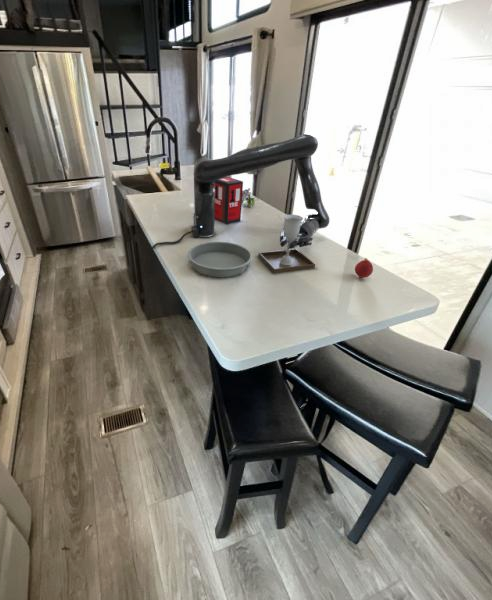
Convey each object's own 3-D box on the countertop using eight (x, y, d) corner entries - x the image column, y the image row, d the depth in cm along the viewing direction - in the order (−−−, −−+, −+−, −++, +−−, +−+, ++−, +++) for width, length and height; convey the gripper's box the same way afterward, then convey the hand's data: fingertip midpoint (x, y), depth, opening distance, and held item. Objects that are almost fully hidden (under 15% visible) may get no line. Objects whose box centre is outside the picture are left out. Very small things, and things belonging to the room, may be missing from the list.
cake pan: (206, 285, 110) (206, 274, 108) (178, 258, 128) (177, 247, 126) (264, 271, 120) (265, 260, 117) (230, 247, 138) (231, 237, 136)
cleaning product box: (208, 215, 174) (209, 177, 163) (221, 212, 178) (223, 175, 167) (226, 224, 162) (228, 183, 151) (240, 221, 166) (243, 181, 156)
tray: (273, 273, 118) (274, 269, 117) (258, 256, 130) (258, 252, 129) (314, 268, 122) (315, 264, 121) (295, 252, 134) (296, 248, 133)
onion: (369, 276, 117) (375, 256, 113) (370, 283, 113) (377, 263, 108) (352, 273, 119) (357, 253, 114) (352, 280, 114) (358, 260, 110)
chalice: (275, 258, 128) (281, 214, 119) (291, 257, 129) (299, 214, 119) (280, 266, 122) (287, 221, 112) (297, 266, 123) (305, 220, 113)
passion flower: (239, 214, 193) (232, 195, 193) (254, 209, 196) (248, 190, 195) (245, 208, 182) (238, 188, 182) (261, 202, 185) (254, 183, 184)
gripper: (288, 219, 132) (270, 231, 120) (321, 226, 126) (305, 240, 114) (286, 236, 136) (268, 250, 124) (318, 244, 130) (302, 259, 118)
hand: (286, 245), depth 119 cm, fingers closed on chalice, 3 cm apart
